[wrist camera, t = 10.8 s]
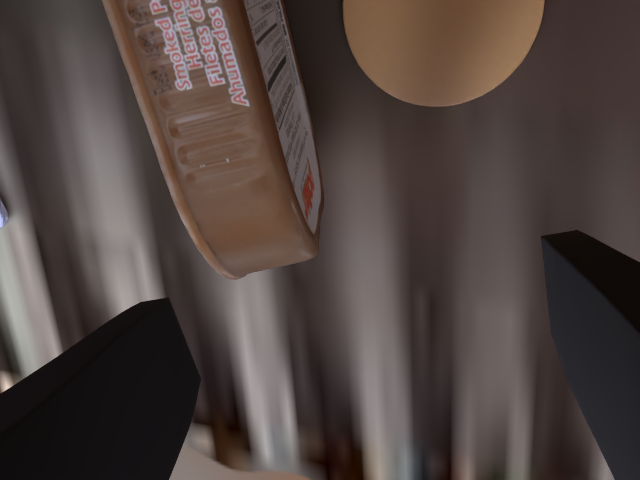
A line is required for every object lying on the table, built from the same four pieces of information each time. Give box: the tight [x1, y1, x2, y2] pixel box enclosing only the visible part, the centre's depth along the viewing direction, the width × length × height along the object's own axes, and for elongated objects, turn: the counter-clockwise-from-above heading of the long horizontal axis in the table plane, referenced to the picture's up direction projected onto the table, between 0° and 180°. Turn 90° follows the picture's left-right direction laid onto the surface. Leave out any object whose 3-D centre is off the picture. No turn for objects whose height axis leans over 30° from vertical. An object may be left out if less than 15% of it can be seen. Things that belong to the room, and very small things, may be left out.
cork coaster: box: [343, 0, 545, 107], centre depth 19 cm, size 6×6×1 cm
